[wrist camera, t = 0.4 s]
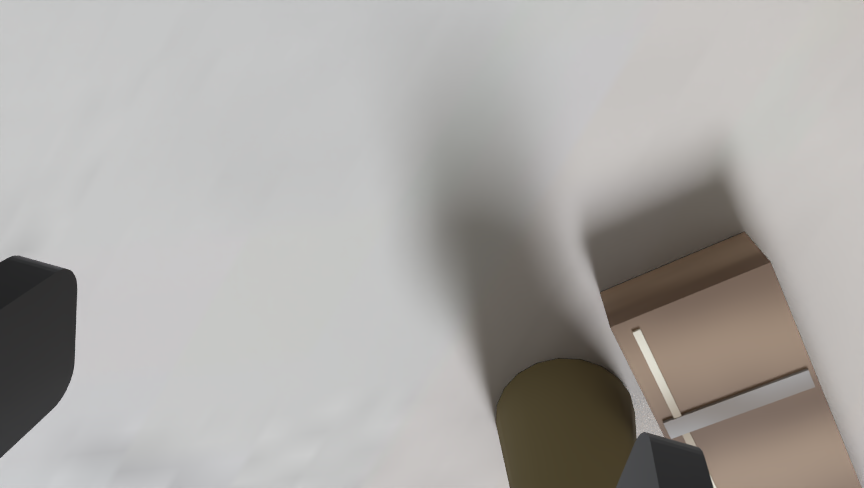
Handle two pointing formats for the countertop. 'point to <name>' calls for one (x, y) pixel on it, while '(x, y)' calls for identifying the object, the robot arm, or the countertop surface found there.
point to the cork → (565, 426)
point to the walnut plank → (729, 369)
